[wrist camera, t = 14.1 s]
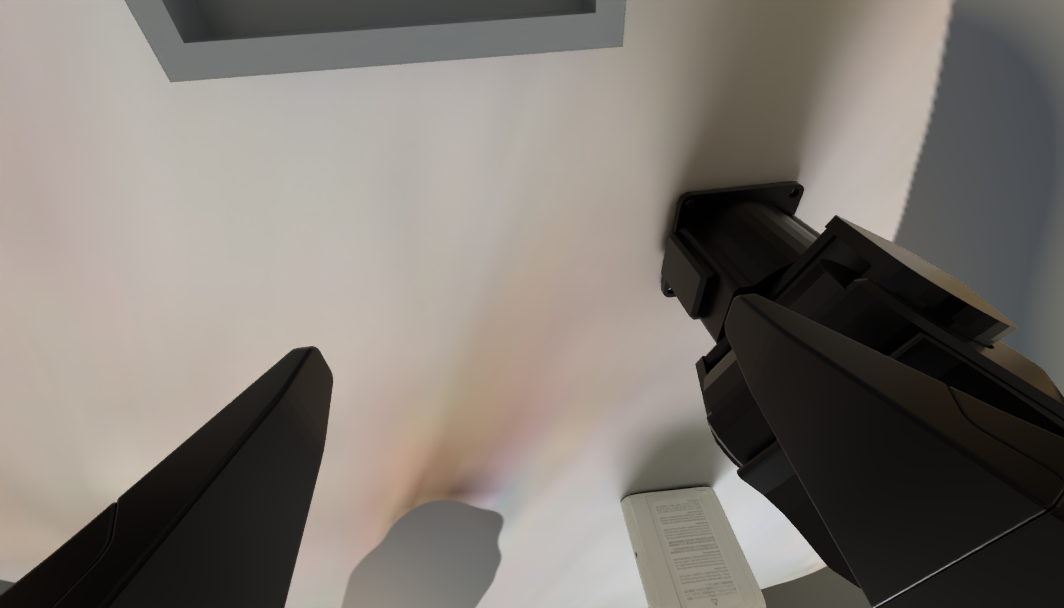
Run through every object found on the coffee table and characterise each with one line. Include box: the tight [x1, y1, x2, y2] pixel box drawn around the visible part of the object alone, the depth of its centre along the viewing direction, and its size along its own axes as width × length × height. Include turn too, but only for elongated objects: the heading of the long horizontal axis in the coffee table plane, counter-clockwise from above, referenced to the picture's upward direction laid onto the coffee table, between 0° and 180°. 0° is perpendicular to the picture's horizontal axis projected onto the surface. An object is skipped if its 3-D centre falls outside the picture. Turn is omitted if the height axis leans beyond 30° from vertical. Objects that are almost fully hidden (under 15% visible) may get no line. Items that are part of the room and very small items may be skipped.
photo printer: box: [621, 487, 766, 608], centre depth 38 cm, size 10×4×12 cm, turn 89°
